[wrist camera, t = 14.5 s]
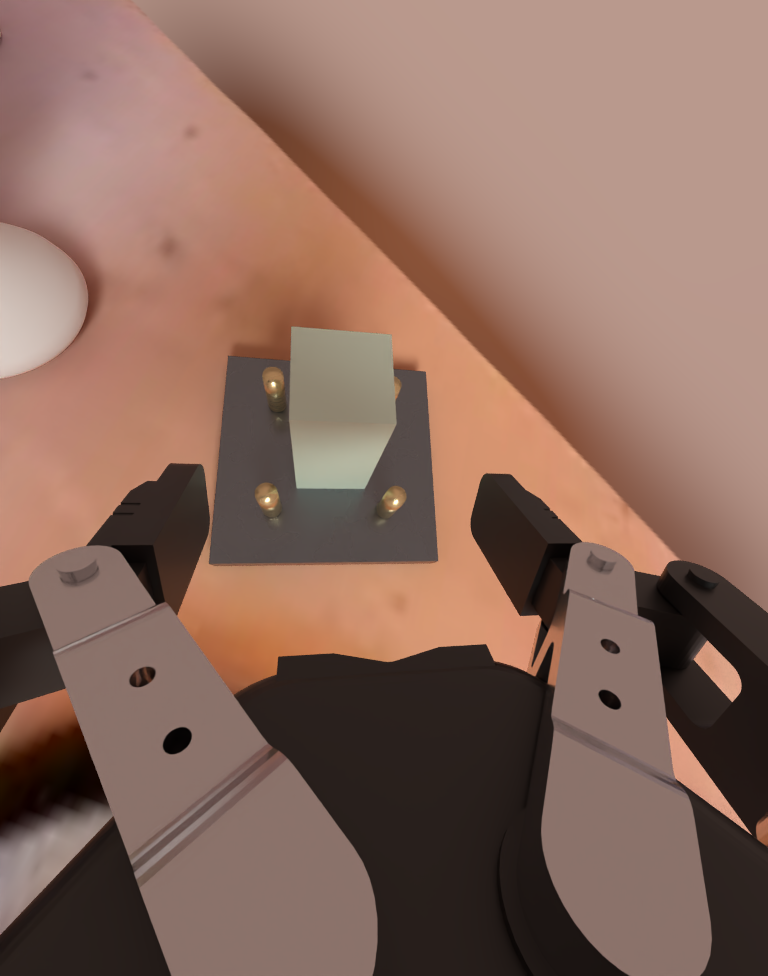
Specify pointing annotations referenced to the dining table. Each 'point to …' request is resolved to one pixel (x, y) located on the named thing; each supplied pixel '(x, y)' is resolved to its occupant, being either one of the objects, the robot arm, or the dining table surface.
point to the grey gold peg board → (308, 511)
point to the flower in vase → (36, 300)
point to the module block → (339, 405)
